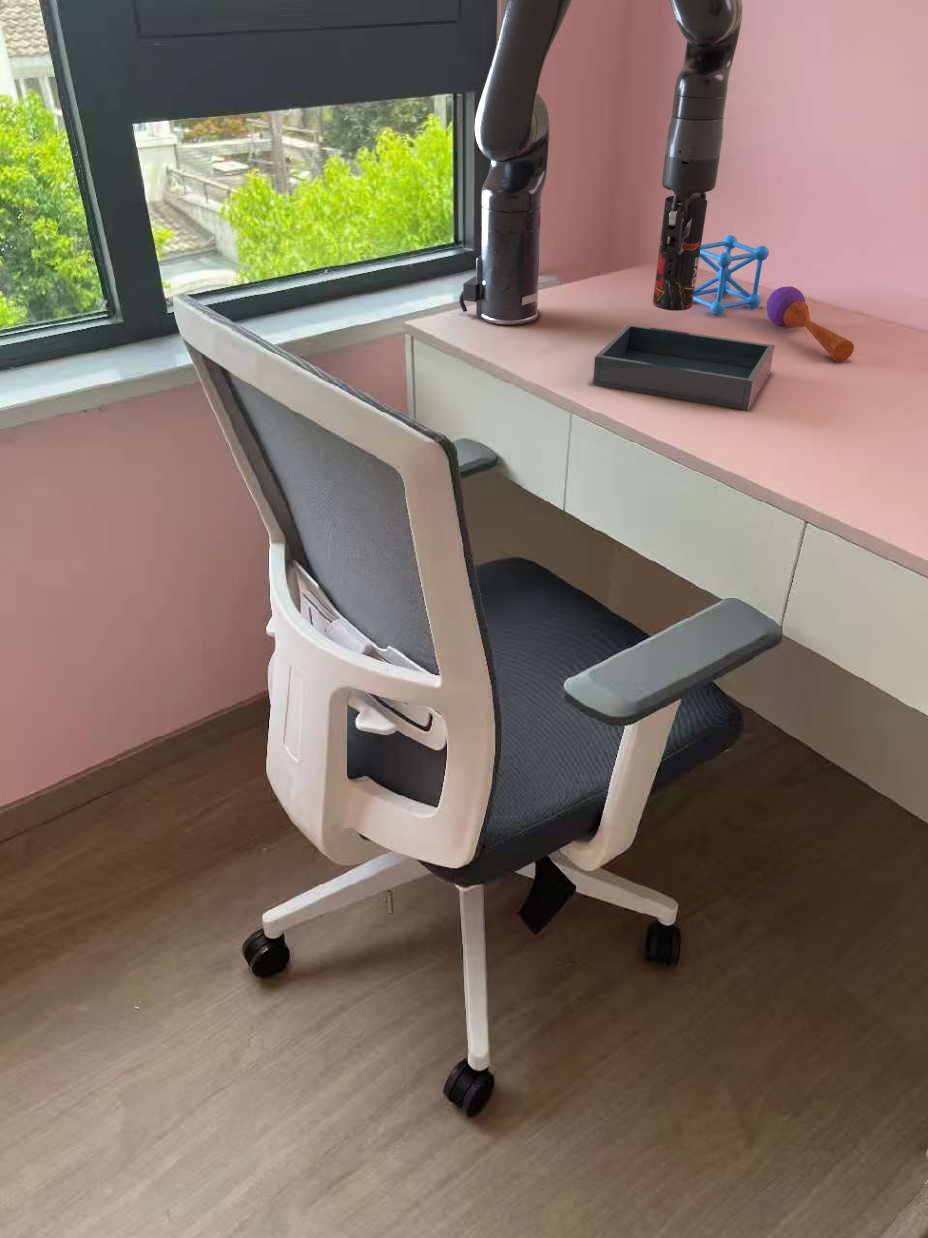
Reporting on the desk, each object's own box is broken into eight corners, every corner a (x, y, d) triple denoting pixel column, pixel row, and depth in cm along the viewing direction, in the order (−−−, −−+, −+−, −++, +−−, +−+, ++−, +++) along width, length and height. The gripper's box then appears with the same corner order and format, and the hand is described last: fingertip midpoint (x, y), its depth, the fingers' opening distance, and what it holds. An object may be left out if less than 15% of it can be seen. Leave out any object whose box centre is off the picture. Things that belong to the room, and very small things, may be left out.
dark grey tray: (592, 384, 138) (594, 356, 135) (625, 350, 148) (627, 323, 146) (747, 410, 130) (752, 381, 128) (769, 372, 141) (774, 345, 138)
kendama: (825, 337, 141) (759, 286, 156) (822, 375, 145) (758, 321, 160) (864, 326, 141) (794, 276, 156) (860, 364, 145) (792, 311, 160)
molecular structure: (677, 301, 167) (684, 240, 161) (723, 292, 171) (731, 232, 165) (715, 318, 160) (724, 254, 154) (762, 308, 164) (773, 246, 158)
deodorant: (691, 311, 147) (707, 206, 138) (651, 308, 148) (664, 203, 139) (692, 299, 152) (707, 196, 143) (653, 296, 153) (666, 193, 144)
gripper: (680, 140, 144) (665, 258, 154) (651, 158, 133) (638, 283, 143) (731, 145, 141) (713, 264, 151) (706, 163, 131) (688, 291, 141)
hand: (676, 273), depth 147 cm, fingers closed on deodorant, 6 cm apart
